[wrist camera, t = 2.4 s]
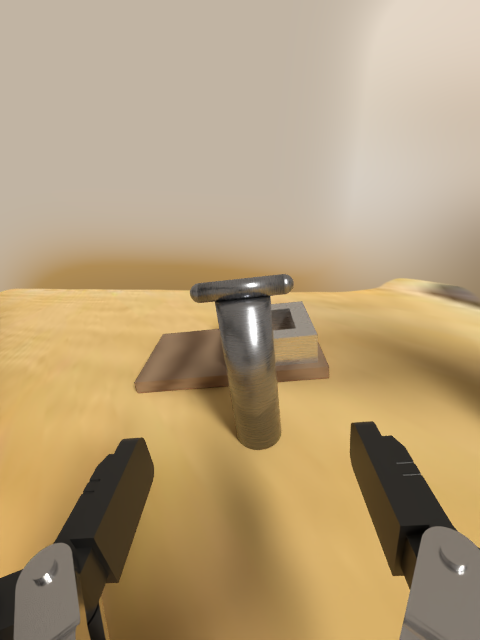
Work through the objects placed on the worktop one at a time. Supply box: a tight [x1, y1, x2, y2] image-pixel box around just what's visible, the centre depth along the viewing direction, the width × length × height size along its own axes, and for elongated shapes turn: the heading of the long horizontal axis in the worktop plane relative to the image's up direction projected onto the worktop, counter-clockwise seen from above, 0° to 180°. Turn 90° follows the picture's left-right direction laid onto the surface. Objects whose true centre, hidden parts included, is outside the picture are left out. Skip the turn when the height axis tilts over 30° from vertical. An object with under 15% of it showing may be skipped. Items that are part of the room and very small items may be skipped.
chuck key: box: [190, 274, 294, 450], centre depth 23 cm, size 7×4×14 cm, turn 88°
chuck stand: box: [134, 301, 329, 393], centre depth 37 cm, size 22×12×5 cm, turn 88°
